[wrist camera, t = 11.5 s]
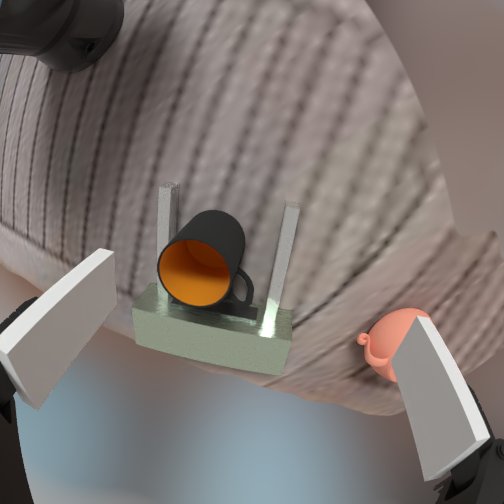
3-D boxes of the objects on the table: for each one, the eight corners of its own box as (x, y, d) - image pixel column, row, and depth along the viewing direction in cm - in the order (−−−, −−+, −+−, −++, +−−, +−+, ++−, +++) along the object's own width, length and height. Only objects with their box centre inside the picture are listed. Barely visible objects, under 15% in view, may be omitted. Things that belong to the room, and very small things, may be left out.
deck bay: (152, 180, 36) (126, 191, 30) (317, 206, 35) (324, 223, 29) (152, 318, 46) (136, 344, 39) (282, 344, 45) (280, 376, 38)
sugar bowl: (409, 358, 44) (425, 399, 35) (341, 354, 45) (350, 400, 35) (438, 304, 39) (465, 342, 30) (366, 294, 40) (385, 338, 30)
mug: (236, 294, 42) (222, 340, 32) (174, 238, 39) (143, 272, 30) (277, 259, 39) (275, 301, 30) (212, 196, 36) (187, 220, 27)
